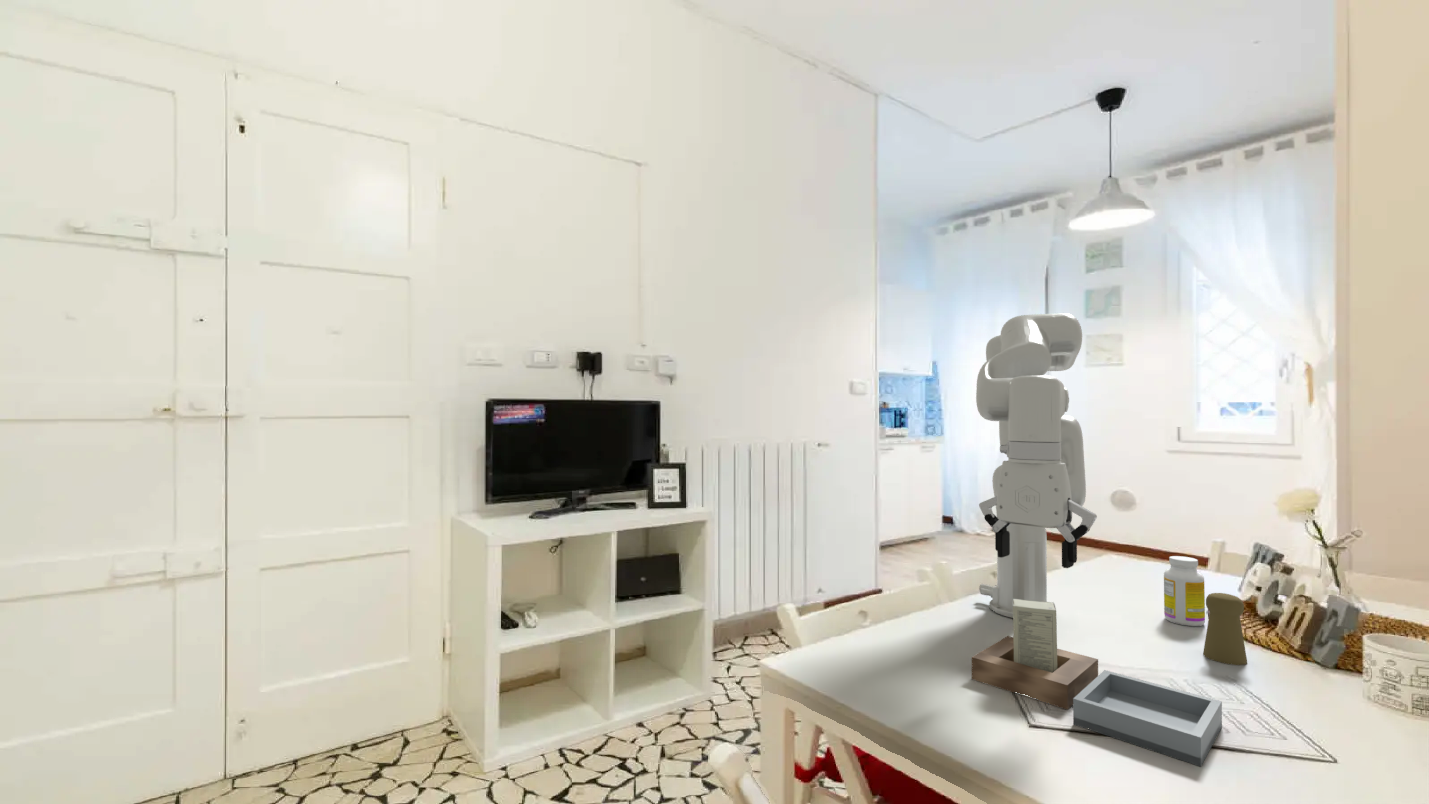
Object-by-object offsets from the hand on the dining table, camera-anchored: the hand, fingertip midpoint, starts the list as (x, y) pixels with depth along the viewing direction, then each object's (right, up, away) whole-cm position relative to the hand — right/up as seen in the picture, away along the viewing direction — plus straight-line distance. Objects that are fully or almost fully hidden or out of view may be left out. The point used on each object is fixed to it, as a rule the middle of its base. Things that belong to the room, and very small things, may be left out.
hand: (1034, 561), depth 100 cm
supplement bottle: (+45, -20, +28) cm, 57 cm away
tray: (+8, -19, -14) cm, 25 cm away
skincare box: (0, -19, 0) cm, 19 cm away
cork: (+38, -19, +10) cm, 44 cm away
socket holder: (0, -19, 0) cm, 19 cm away
